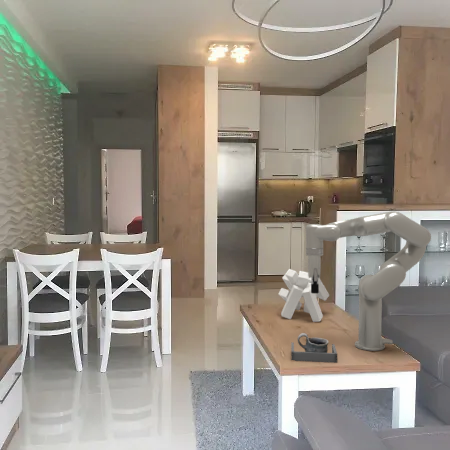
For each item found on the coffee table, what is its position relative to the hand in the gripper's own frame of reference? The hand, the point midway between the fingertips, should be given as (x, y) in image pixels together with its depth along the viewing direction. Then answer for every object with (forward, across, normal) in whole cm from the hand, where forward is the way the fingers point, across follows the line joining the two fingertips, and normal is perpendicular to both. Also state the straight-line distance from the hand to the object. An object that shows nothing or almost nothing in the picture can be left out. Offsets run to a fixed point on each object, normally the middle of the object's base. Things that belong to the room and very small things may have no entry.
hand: (314, 292), depth 218 cm
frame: (+23, +18, -2) cm, 29 cm away
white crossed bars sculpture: (+23, -51, -2) cm, 56 cm away
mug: (+23, +19, -2) cm, 30 cm away
